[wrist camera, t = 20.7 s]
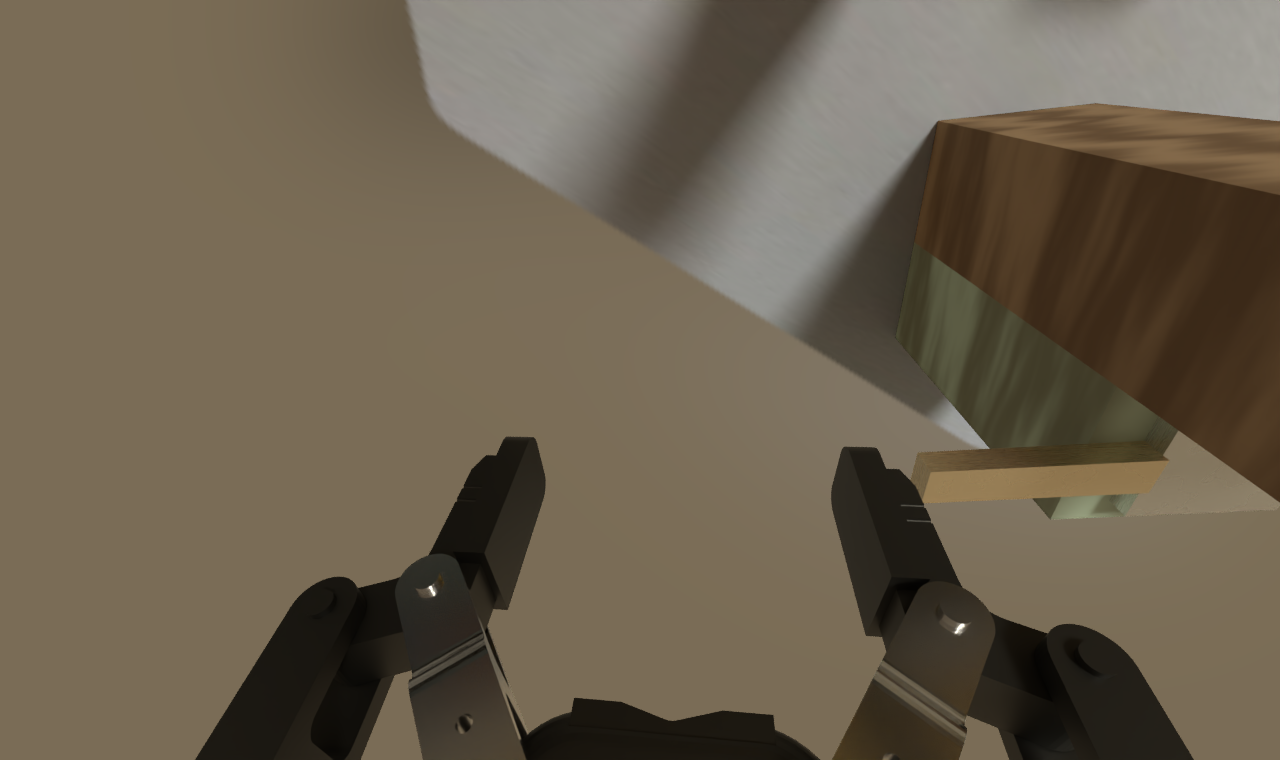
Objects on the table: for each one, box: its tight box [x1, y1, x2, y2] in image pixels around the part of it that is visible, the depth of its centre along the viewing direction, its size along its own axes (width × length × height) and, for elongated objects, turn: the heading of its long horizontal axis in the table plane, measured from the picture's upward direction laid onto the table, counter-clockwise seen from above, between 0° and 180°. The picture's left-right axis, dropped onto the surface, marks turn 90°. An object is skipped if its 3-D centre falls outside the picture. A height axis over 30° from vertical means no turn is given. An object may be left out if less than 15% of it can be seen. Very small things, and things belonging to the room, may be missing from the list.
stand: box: [895, 103, 1280, 519], centre depth 32 cm, size 12×20×32 cm, turn 6°
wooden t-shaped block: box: [910, 417, 1280, 516], centre depth 27 cm, size 20×7×2 cm, turn 96°
